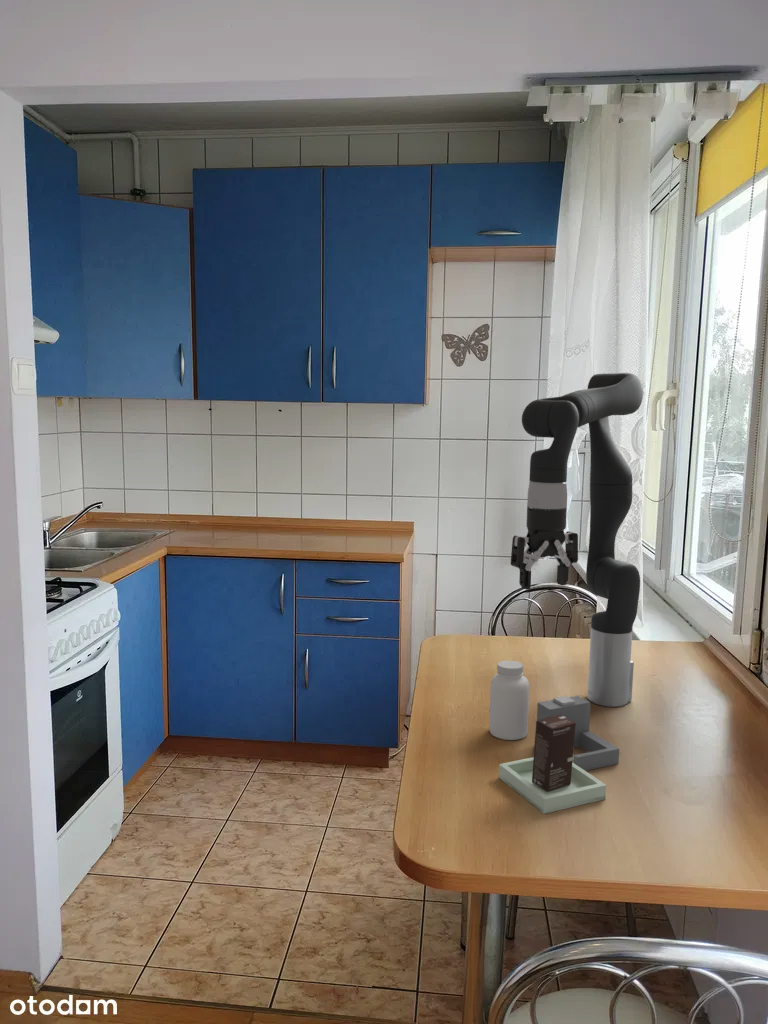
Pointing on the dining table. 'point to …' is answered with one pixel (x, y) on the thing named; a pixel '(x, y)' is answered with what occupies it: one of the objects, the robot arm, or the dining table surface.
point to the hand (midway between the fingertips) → (543, 586)
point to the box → (553, 752)
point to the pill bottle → (509, 702)
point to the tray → (564, 797)
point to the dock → (581, 731)
